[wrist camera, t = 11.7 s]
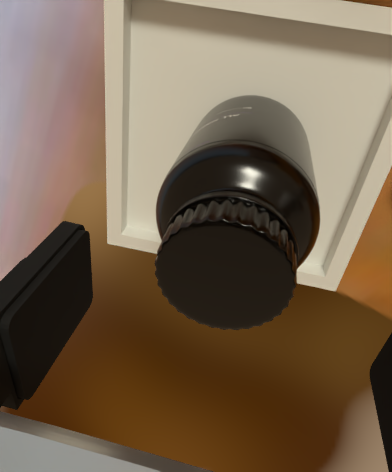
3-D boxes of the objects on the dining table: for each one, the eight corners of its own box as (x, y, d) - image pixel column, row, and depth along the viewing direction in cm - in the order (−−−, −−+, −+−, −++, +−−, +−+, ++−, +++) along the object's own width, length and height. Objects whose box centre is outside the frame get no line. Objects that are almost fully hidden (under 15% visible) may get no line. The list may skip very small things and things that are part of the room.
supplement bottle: (219, 70, 20) (165, 143, 10) (332, 125, 20) (386, 246, 10) (175, 176, 24) (104, 305, 14) (271, 220, 24) (268, 375, 14)
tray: (440, 15, 18) (457, 17, 16) (331, 272, 27) (335, 291, 25) (118, -32, 19) (103, -35, 17) (117, 228, 28) (107, 243, 26)
